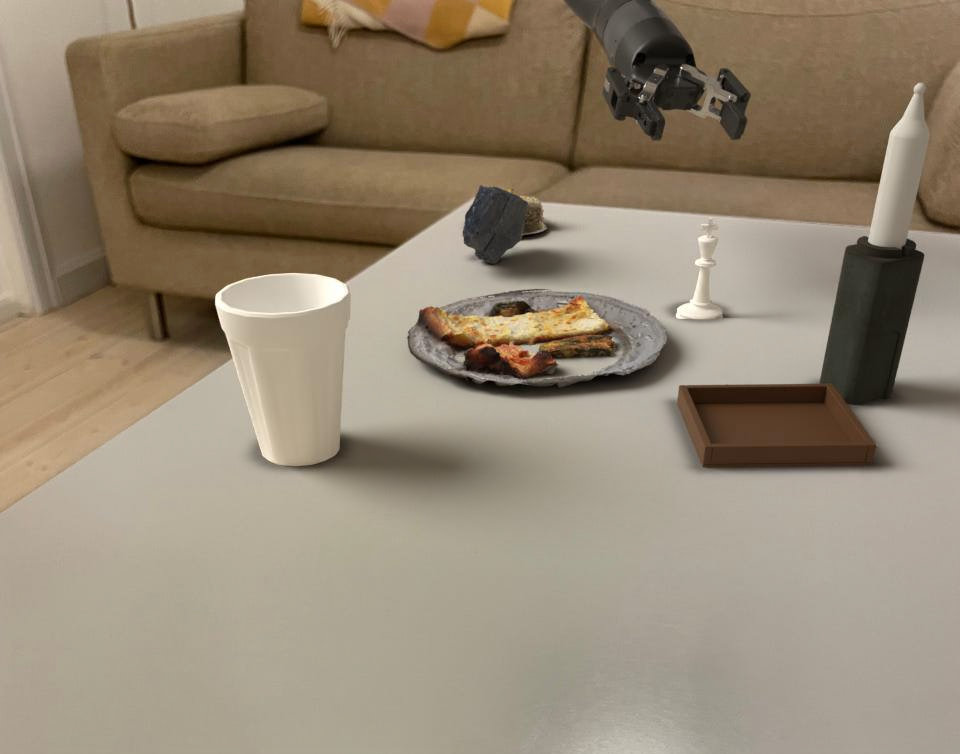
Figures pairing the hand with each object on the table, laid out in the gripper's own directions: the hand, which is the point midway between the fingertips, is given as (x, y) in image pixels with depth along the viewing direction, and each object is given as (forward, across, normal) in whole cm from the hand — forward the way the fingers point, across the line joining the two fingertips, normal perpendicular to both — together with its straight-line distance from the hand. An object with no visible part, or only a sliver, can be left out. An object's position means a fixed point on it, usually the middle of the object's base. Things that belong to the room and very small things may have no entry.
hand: (700, 131), depth 102 cm
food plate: (+14, -18, +15) cm, 27 cm away
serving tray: (+36, -6, +7) cm, 37 cm away
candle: (+30, +6, +8) cm, 32 cm away
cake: (-28, -8, +28) cm, 41 cm away
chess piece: (+8, +2, +16) cm, 18 cm away
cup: (+29, -43, +11) cm, 53 cm away
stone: (-15, -14, +24) cm, 32 cm away
